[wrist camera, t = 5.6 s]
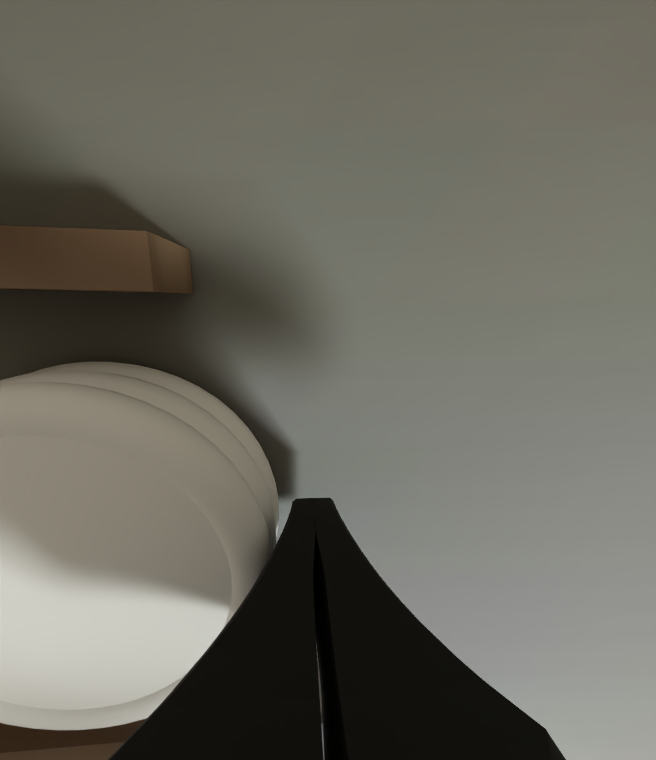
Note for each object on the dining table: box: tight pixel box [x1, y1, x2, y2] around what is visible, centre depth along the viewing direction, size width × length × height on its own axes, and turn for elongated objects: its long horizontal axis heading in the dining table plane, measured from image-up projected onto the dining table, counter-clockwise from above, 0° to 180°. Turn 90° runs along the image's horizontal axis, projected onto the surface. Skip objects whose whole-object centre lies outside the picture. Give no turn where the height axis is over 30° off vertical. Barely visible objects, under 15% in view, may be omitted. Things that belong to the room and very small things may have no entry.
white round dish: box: [0, 362, 279, 730], centre depth 9 cm, size 10×10×4 cm
